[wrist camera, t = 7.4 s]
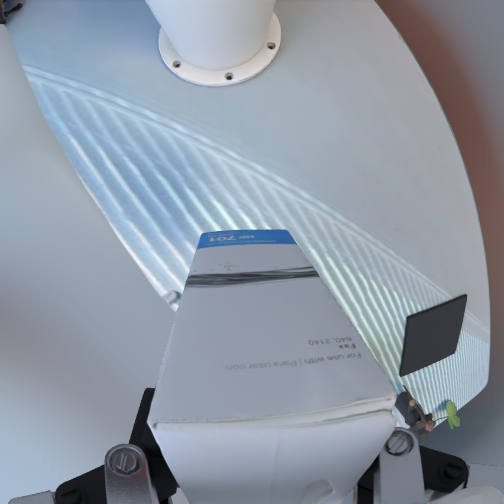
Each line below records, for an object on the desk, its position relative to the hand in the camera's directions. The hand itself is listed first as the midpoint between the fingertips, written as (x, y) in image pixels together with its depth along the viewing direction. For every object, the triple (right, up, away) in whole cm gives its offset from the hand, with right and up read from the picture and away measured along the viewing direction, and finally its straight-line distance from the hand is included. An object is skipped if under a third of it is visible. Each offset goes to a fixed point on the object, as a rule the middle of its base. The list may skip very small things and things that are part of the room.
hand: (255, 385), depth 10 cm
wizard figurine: (+26, -20, +31) cm, 45 cm away
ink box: (0, +2, +7) cm, 7 cm away
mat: (+29, -8, +27) cm, 40 cm away
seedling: (+42, -30, +35) cm, 63 cm away
